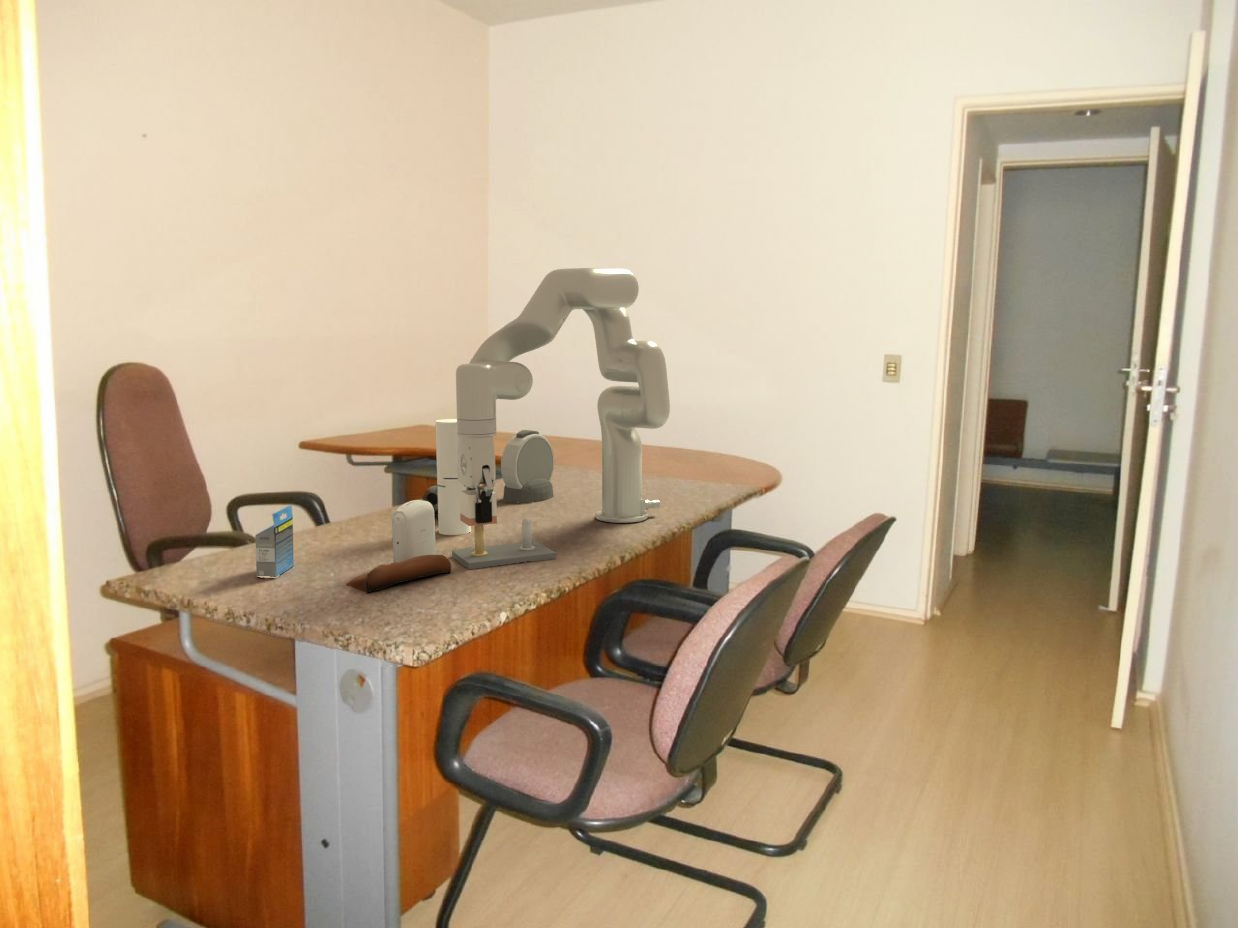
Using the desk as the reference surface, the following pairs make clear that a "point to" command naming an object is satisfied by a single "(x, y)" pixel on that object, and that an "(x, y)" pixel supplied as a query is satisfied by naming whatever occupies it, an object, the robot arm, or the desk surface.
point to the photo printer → (413, 530)
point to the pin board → (503, 550)
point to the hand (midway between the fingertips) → (478, 518)
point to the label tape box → (275, 545)
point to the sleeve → (468, 507)
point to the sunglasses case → (401, 572)
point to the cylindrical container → (448, 479)
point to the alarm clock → (527, 468)
